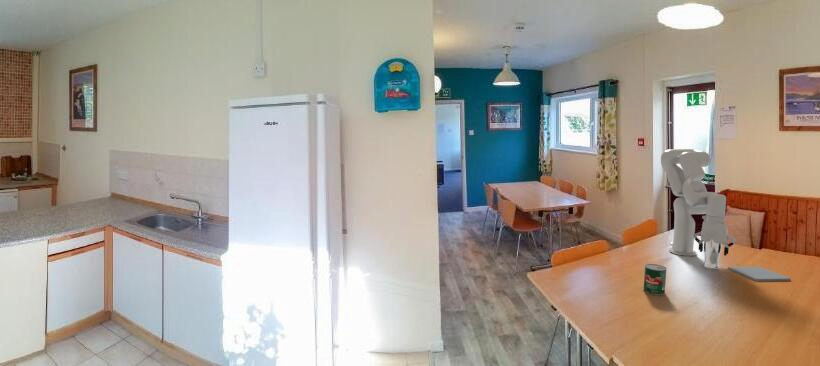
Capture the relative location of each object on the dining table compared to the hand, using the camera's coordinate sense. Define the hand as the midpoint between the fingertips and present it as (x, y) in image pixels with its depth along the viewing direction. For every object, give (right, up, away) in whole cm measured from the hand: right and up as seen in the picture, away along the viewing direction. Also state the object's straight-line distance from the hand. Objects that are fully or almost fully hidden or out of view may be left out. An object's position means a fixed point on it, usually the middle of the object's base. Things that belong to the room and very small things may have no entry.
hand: (713, 253), depth 200 cm
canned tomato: (-46, -12, -27) cm, 54 cm away
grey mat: (+14, -9, -9) cm, 19 cm away
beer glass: (0, -8, +2) cm, 8 cm away
